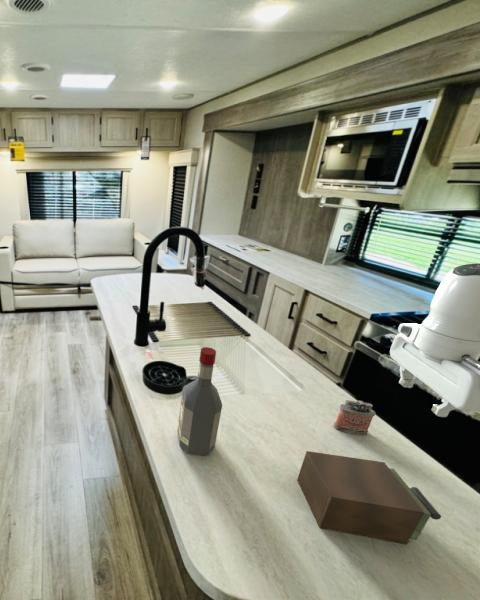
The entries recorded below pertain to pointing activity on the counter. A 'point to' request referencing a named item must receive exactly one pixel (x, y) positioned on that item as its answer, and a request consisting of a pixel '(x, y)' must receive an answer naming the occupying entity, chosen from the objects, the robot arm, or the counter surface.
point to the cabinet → (358, 497)
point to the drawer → (423, 503)
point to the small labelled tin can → (354, 417)
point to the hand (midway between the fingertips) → (420, 399)
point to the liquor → (200, 409)
